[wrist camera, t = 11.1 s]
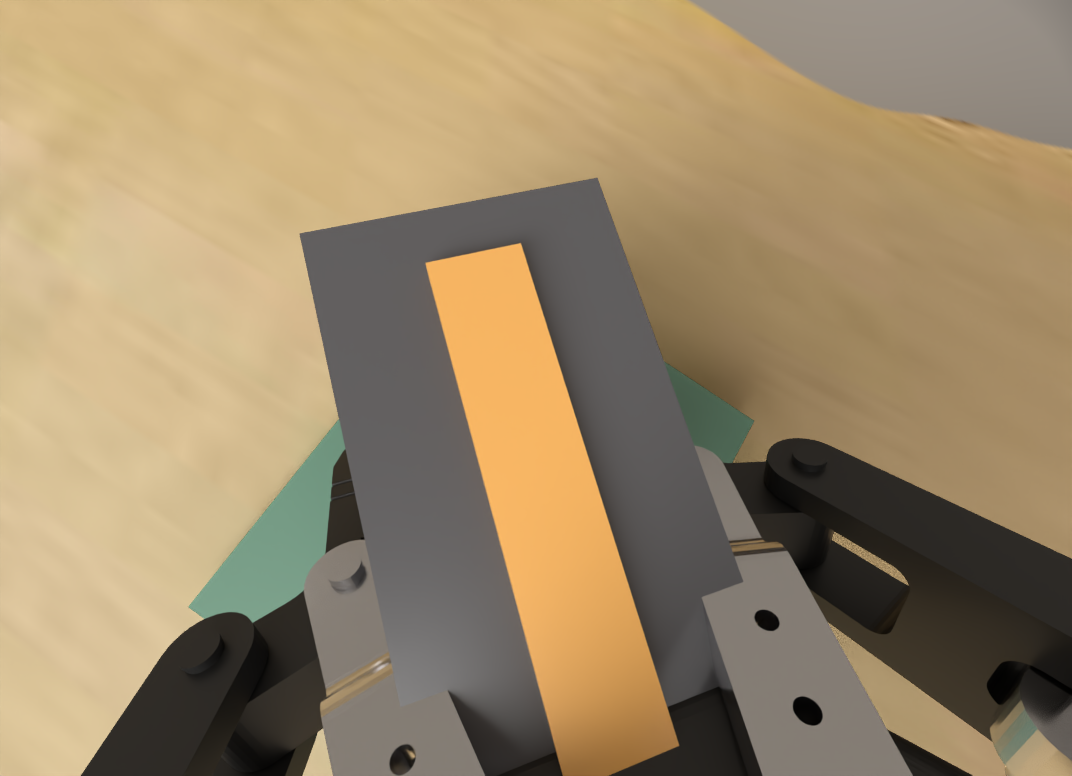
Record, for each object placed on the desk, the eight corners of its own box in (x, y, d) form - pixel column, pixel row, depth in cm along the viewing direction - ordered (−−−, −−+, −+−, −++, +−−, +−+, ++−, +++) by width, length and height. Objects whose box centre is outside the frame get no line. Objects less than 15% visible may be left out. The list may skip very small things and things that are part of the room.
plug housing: (407, 403, 16) (290, 220, 6) (527, 372, 16) (602, 163, 7) (470, 658, 14) (454, 998, 4) (599, 612, 15) (840, 812, 5)
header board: (481, 260, 20) (482, 180, 15) (733, 427, 19) (818, 400, 15) (214, 598, 16) (99, 636, 11) (521, 818, 15) (541, 958, 11)
